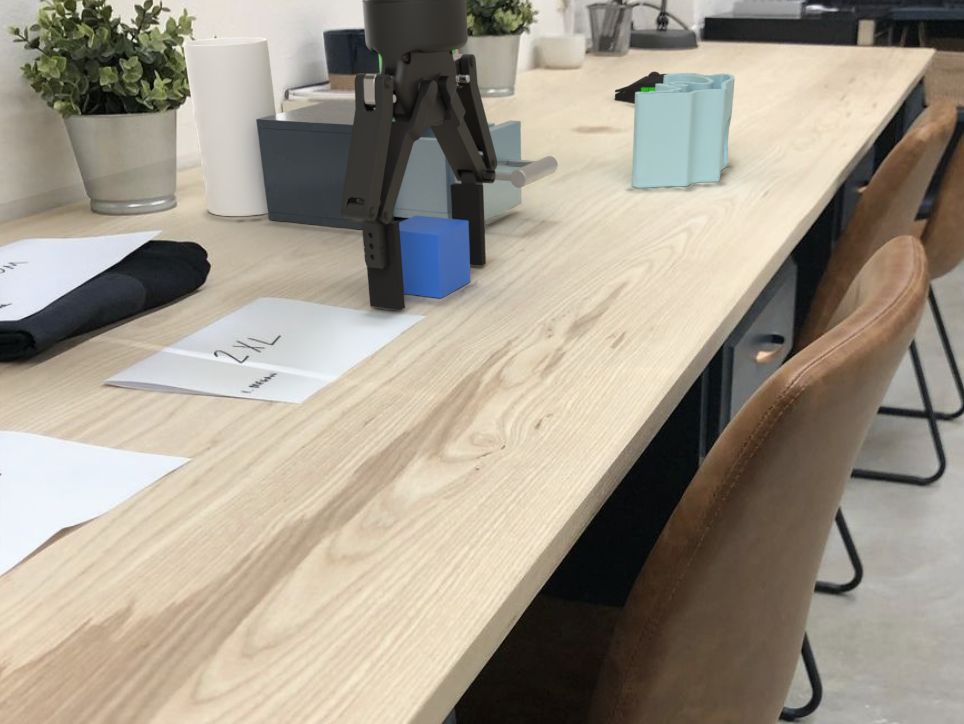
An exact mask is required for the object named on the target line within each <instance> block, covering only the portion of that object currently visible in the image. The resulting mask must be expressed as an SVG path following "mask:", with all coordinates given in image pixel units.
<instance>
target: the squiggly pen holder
mask: <svg viewBox="0 0 964 724" xmlns="http://www.w3.org/2000/svg"><path fill="white" fill-rule="evenodd" d="M665 74H666V75H664V81H663V84H656V85H655V91H649V92H636V93H635V103H634V113H633V115H634V116H633V141H632V142H633V144H632V166H631V167H632V171H631V186H632V187H633V188H639V189H640V188H641V189H644V188H661V187H663V188H665V187H667V188H668V187H688V186H690V185H692V184H695V183H716V182H720V181H721V173H722V171H723V170H724V169H725V168H727V167H728V166H729V133H730V126H731V122H732V116H733V115H732V114H733V105H734V91H735V80H736V78H735V75H733V74H731V73H715V74H701V73H697V72H676V73H665Z"/></svg>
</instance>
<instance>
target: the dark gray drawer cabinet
mask: <svg viewBox="0 0 964 724" xmlns="http://www.w3.org/2000/svg"><path fill="white" fill-rule="evenodd" d="M355 109H356V108H355V101H345V100H344V101H343V100H342V101H341V100H328V101H324V102H320V103H315V104H311V105H308V106H307V105H306V106H304V107H299V108H296V109H291V110H288V111H284V112H283V111H282V112H280V113H276V114H275V115H271V116H267V117H263V118H259V119H256V122H257V129H258V137H259V145H260V153H261V161H262V169H263V177H264V185H265V193H266V201H267V209H268V213H267V216H268V220H269V221H274V222H275V221H276V222H284V223H285V222H286V223H293V224H294V223H295V224H302V225H303V224H305V225H312V226H324V227H333V228H341V229H342V228H343V229H352V230H361V231H362V226H361V223H360V222H356V221H350V220H349V219H348V218H344V217H342V215H341V203H342V196H343V189H344V183H345V176H346V169H347V163H348V156H349V149H350V142H351V136H352V129H353V122H354V116H355ZM374 110H375V108H374ZM392 121H395V120H394V118H393V120H392ZM358 200H359V199H357V202H358ZM380 204H381V202H379V206H380ZM407 219H409V218H403V217H393V215H392V218H391V221H399V223H400V222H402V221H404V220H407Z"/></svg>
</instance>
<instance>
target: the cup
mask: <svg viewBox="0 0 964 724" xmlns="http://www.w3.org/2000/svg"><path fill="white" fill-rule="evenodd" d="M183 52H184V59H185V65H186V66H185V67H186V72H187V81H188V87H189V93H190V99H191V107H192V112H193V119H194V125H195V132H196V139H197V145H198V152H199V159H200V165H201V166H200V167H201V171H202V172H201V173H202V178H203V179H202V180H203V185H204V193H205V198H206V205H207V211H208V212H209V213H210V214H212V215H217V216H220V217H221V216H222V217H251V216H252V217H253V216H259V215H266V214H267V215H268V209H267V201H266V193H265V185H264V177H263V169H262V161H261V153H260V145H259V137H258V129H257V122H256V119H259V118H263V117H267V116H271V115H275V114H277V113H276V103H275V102H276V101H275V96H274V87H273V78H272V69H271V61H270V51H269V43H268V39H267V38H264V37H256V36H255V37H253V36H251V37H250V36H236V37H235V36H233V37H231V36H230V37H215V38H214V37H213V38H204V39H203V38H201V39H196V40H194V39H193V40H188V41H185V42H183Z"/></svg>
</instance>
